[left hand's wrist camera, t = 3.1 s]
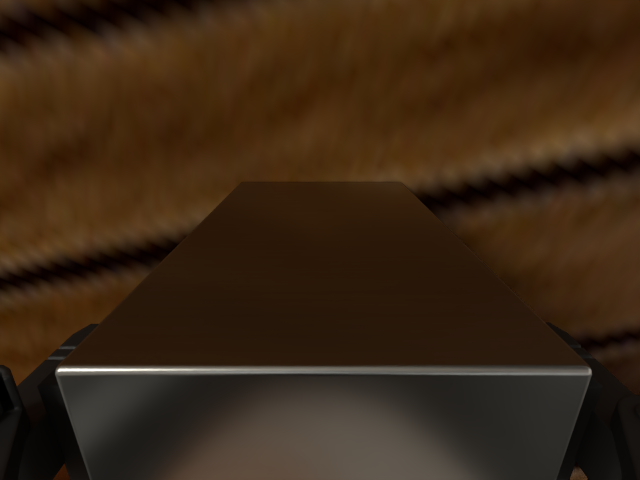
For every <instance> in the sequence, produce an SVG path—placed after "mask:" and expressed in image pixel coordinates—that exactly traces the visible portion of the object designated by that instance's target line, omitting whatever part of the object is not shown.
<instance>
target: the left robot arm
mask: <svg viewBox="0 0 640 480" xmlns="http://www.w3.org/2000/svg"><path fill="white" fill-rule="evenodd" d="M546 324H547V325H548V326H549V327H550V328H551V329H552V330H553V331H554V332H555V333H556V334H557V335H558V336H559V337H560V338H562V339H563V340H564V341H565V342H566V343H567V344H568V345H569V346H570V347H571V348H572V349H573V350H574V351H575V352H576V353H577V354H578V355H579V356H580V357H581V358H582V359H583V360H584V361H585V362H586V363H587V364H588V365H589V366H590V368H591V370H592V376H591V379H590V382H589V385H588V388H587V391H586V394H585V397H584V400H583V403H582V406H581V408H580V411H579V414H578V417H577V420H576V423H575V426H574V429H573V432H572V435H571V438H570V441H569V444H568V447H567V450H566V453H565V455H564V458H563V461H562V464H561V467H560V470H559V473H558V476H557V479H556V480H570V477H571V474H572V471H573V468H574V466H575V463H576V462H577V464H578V465H579V466H580V468H581V469H582V471H583V472H584V473H585V475H586V476H587V478H588V480H640V396H638V395H634V394H633V393H631V392H630V391H629V390H628V389H627V388H626V387H625V386H624V385H623V384H622V383H621V382H620V381H619V380H617V379H616V378H615V377H614V376H613V375H612V374H611V373H610V372H609V371H608V370H607V369H606V368H605V367H603V366H602V365H601V364H600V363H599V362H598V361H597V360H596V359H593V358H592V355H590V354H589V353H588V352H587V351H586V350H585V349H584V348H581V345H580V344H579V343H578V342H576V341H575V340H574V339H573V338H572V337H571V336H570V335H569V334H568V333H566V332H565V331H563V330H561V329H559V328H558V327H556V326H554V325H552V324H551V323H546ZM98 325H99V324H90V325H88V326H87V327H85V328H83V329H81V330H80V331H78V332H76V333H75V334H73V335H72V336H71V337H70V338H69V339H67V340H66V341H65V342H64V343H63V344H62V345H61V346H60V348H59V349H57V350H56V351H55V352H54V353H52V354H51V355H50V356H49V357H48V360H45V361H44V362H43V363H42V364H41V365H40V366H39V367H37V368H36V369H35V370H34V371H33V372H32V373H31V374H30V375H29V376H28V377H27V378H26V379H25V380H24V381H22V382H21V383H20V384H19V385H18V386H16V383H15V381H14V378H13V376H12V373H11V370H10V369H9V368H7V367H6V366H4V365H0V480H53V478H54V477H55V476H56V474H57V473H58V471H59V470H60V468H61V467H62V466H63V464H64V463H65V466H66V468H67V471H68V474H69V477H70V480H90V478H89V475H88V472H87V469H86V466H85V463H84V460H83V457H82V454H81V451H80V448H79V445H78V442H77V439H76V436H75V433H74V430H73V427H72V424H71V421H70V418H69V415H68V412H67V409H66V405H65V402H64V399H63V396H62V393H61V390H60V387H59V384H58V381H57V378H56V375H55V372H56V368H57V366H58V365H59V364H60V363H61V362H62V361H63V360H64V359H65V358H66V357H67V356H68V355H69V354H70V353H71V352H72V351H73V350H74V349H75V348H76V347H77V346H78V345H79V344H80V343H81V342H82V341H83V340H84V339H85V338H86V337H87V336H88V335H89V334H90V333H91V332H92V331H93V330H94V329H95V328H96V327H97V326H98Z"/></svg>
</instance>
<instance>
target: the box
mask: <svg viewBox="0 0 640 480" xmlns="http://www.w3.org/2000/svg"><path fill="white" fill-rule="evenodd" d="M55 375H56V378H57V381H58V384H59V387H60V390H61V393H62V396H63V399H64V402H65V405H66V409H67V412H68V415H69V418H70V421H71V424H72V427H73V430H74V433H75V436H76V439H77V442H78V445H79V448H80V451H81V454H82V457H83V460H84V463H85V466H86V469H87V472H88V475H89V478H90V480H556V479H557V476H558V473H559V470H560V467H561V464H562V461H563V458H564V455H565V453H566V450H567V447H568V444H569V441H570V438H571V435H572V432H573V429H574V426H575V423H576V420H577V417H578V414H579V411H580V408H581V406H582V403H583V400H584V397H585V394H586V391H587V388H588V385H589V382H590V379H591V376H592V370H591V368H590V366H589V365H588V364H587V363H586V362H585V361H584V360H583V359H582V358H581V357H580V356H579V355H578V354H577V353H576V352H575V351H574V350H573V349H572V348H571V347H570V346H569V345H568V344H567V343H566V342H565V341H564V340H563V339H562V338H560V337H559V336H558V335H557V334H556V333H555V332H554V331H553V330H552V329H551V328H550V327H549V326H548V325H547V324H546V323H545V322H544V321H543V320H542V319H541V318H540V317H539V316H538V315H537V314H536V313H535V312H534V311H533V310H532V309H531V308H530V307H529V306H528V305H527V304H526V303H525V302H524V301H522V300H521V299H520V298H519V297H518V296H517V295H516V294H515V293H514V292H513V291H512V290H511V289H510V288H509V287H508V286H507V285H506V284H505V283H504V282H503V281H502V280H501V279H500V278H499V277H498V276H497V275H496V274H495V273H494V272H493V271H492V270H491V269H490V268H489V267H488V266H487V265H485V264H484V263H483V262H482V261H481V260H480V259H479V258H478V257H477V256H476V255H475V254H474V253H473V252H472V251H471V250H470V249H469V248H468V247H467V246H466V245H465V244H464V243H463V242H462V241H461V240H460V239H459V238H458V237H457V236H456V235H455V234H454V233H453V232H452V231H451V230H450V229H449V228H447V227H446V226H445V225H444V224H443V223H442V222H441V221H440V220H439V219H438V218H437V217H436V216H435V215H434V214H433V213H432V212H431V211H430V210H429V209H428V208H427V207H426V206H425V205H424V204H423V203H422V202H421V201H420V200H419V199H418V198H417V197H416V196H415V195H414V194H413V193H412V192H411V191H409V190H408V189H407V188H406V187H405V186H404V185H403V184H402V183H401V182H241V183H240V184H239V185H238V186H237V187H236V188H235V189H234V190H233V191H232V192H231V193H230V194H229V195H228V196H227V197H226V198H225V199H224V200H223V201H222V202H221V203H220V204H219V205H218V206H217V207H216V208H215V209H214V210H213V211H212V212H211V213H210V214H209V215H208V216H207V217H206V218H205V219H204V220H203V221H202V222H201V223H200V224H199V225H198V226H197V227H196V228H195V229H194V230H193V231H192V232H191V233H190V234H189V235H188V236H187V237H186V238H185V239H184V240H183V241H182V242H181V243H180V244H179V245H178V246H177V247H176V248H175V249H174V250H173V251H172V252H171V253H170V254H169V255H168V256H167V257H166V258H165V259H164V260H163V261H162V262H161V263H160V264H159V265H158V266H157V267H156V268H155V269H154V270H153V271H152V272H151V273H150V274H149V275H148V276H147V277H146V278H145V279H144V280H143V281H142V282H141V283H140V284H139V285H138V286H137V287H136V288H135V289H134V290H133V291H132V292H131V293H130V294H129V295H128V296H127V297H126V298H125V299H124V300H123V301H122V302H121V303H120V304H119V305H118V306H117V307H116V308H115V309H114V310H113V311H112V312H111V313H110V314H109V315H108V316H107V317H106V318H105V319H104V320H103V321H102V322H101V323H100V324H99V325H98V326H97V327H96V328H95V329H94V330H93V331H92V332H91V333H90V334H89V335H88V336H87V337H86V338H85V339H84V340H83V341H82V342H81V343H80V344H79V345H78V346H77V347H76V348H75V349H74V350H73V351H72V352H71V353H70V354H69V355H68V356H67V357H66V358H65V359H64V360H63V361H62V362H61V363H60V364H59V365H58V366H57V368H56V372H55Z"/></svg>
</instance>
